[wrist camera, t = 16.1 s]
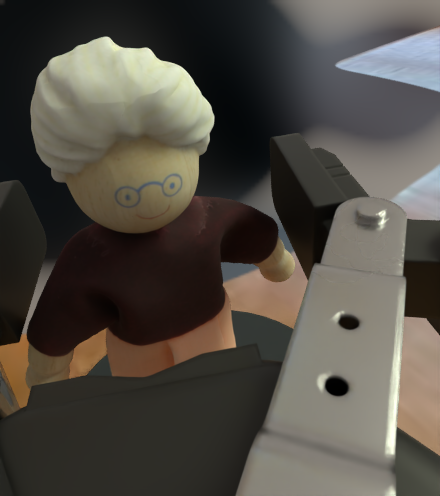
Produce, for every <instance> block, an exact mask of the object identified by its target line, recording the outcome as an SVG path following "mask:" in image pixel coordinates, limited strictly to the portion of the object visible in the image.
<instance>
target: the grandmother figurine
mask: <svg viewBox="0 0 440 496" xmlns="http://www.w3.org/2000/svg"><path fill="white" fill-rule="evenodd" d="M31 120H32V124H31V128H32V134H33V137H34V142H35V145H36V150H37V153H38V154H39V156H40V158H41V160H42V161H43V162H44V163H45V164H46V165H47V166H49V167H50V168H51V169H52V170H51V175H52V177H53V178H54V180H55V181H57V182H66V183H67V185H68V187H69V190H70V192H71V193H72V196H73V197H74V199H75V201H76V203H77V204H78V205H79V206H80V208H81V209H82V211H84V212H85V213H86V214H87V215H88V216H89V217H90V218H91V219H93V220H94V221H96V222H94V223H93V224H92V225H90V226H88V227H86V228H84V229H82V230H80V231H79V232H78V233H76V234H75V235H74V236H73V237H72V238H71V239H70V241H68V243H67V244H66V245H65V247H64V249H63V250H62V252H61V254H60V256H59V257H58V259H57V261H56V264H55V266H54V268H53V270H52V272H51V275H50V276H49V279H48V280H47V283H46V285H45V287H44V290H43V292H42V294H41V296H40V298H39V301H38V303H37V306H36V309H35V311H34V313H33V316H32V318H31V320H30V322H29V325H28V329H27V339H28V342H29V349H28V361H29V366H28V368H27V372H26V383H27V385H28V387H29V388H30V390H31V386H34V385H39V384H44V383H50V382H55V381H60V380H65V379H68V378H69V373H70V368H69V364H70V362H71V360H72V357H73V352H74V348H75V347H76V346H77V345H78V344H79V343H81V342H83V341H85V340H87V339H89V338H90V337H92V336H93V335H95V334H97V333H98V332H100V331H102V330H104V329H105V328H107V329H106V347H107V355H108V360H109V364H110V368H111V372H112V376H122V377H146V376H150V375H153V374H155V373H157V372H160V371H162V370H165V369H167V368H169V367H172V366H174V365H176V364H179V363H181V362H183V361H186V360H188V359H191V358H193V357H195V356H198V355H200V354H202V353H207V352H213V351H218V350H223V349H228V348H234V347H236V343H235V336H234V332H233V325H232V316H231V305H230V301H229V297H228V295H227V292H226V290H225V288H224V287H223V286H222V285H223V277H222V270H221V262H230V263H243V264H254V265H256V266H258V267H259V269H260V272H261V274H262V275H263V276H264V278H266V279H267V280H270V281H272V282H282V281H285V280H287V279H288V278H289V277H290V276H291V275H292V273H293V271H294V268H295V262H294V259H293V257H292V256H291V254H290V253H289V252H288V251H286V250H285V249H284V245H283V243H282V241H281V239H280V238H279V237H278V226H277V224H276V222H275V221H274V219H273V218H271V217H269V216H268V215H266V214H264V213H262V212H260V211H259V210H257V209H255V208H253V207H251V206H248V205H245V204H243V203H240V202H237V201H234V200H229V199H224V198H217V197H201V196H193V195H194V192H195V189H196V185H197V182H198V175H199V155H202V154H203V153H204V152H205V151H206V149H207V145H208V143H209V141H210V138H209V132H210V131H211V129H212V127H213V124H214V115H213V112H212V109H211V106H210V104H209V103H208V101H207V100H206V99H205V98H204V97H203V96H202V95H201V92H200V90H199V89H198V87H197V86H196V85H195V83H194V81H193V79H192V78H191V77H190V75H189V74H188V73H187V72H186V71H185V70H184V69H183V68H182V67H181V66H178V65H176V64H174V63H170V62H164V61H160V60H159V59H157V58H156V57H155V55H154V54H153V52H152V51H151V50H150V49H148V48H141V49H133V48H122V47H119V46H118V45H116V44H115V43H114V42H113V41H112V40H111V39H110V38H109V37H102V38H99V39H96V40H93V41H91V42H89V43H87V44H84V45H79V46H77V47H76V48H75V49H74V50H72V51H71V52H68V53H66V54H64V55H61V56H57V57H55V58H53V59H51V60H50V61H49V63H48V66H47V67H46V68H45V69H44V70H43V71H42V72H41V73H40V75H39V76H38V78H37V83H36V88H35V92H34V95H33V98H32V102H31Z"/></svg>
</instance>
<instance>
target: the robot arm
mask: <svg viewBox="0 0 440 496" xmlns="http://www.w3.org/2000/svg"><path fill="white" fill-rule="evenodd" d="M270 162H271V188H272V197H273V203H274V206H275V210H276V212H277V214H278V216H279V219H280V221H281V223H282V225H283V227H284V230H285V231H286V234H287V236H288V238H289V240H290V243H291V244H292V247H293V249H294V251H295V253H296V256H297V258H298V260H299V262H300V264H301V266H302V269H303V271H304V273H305V275H306V277H307V279H308V284H307V287H306V291H305V294H304V297H303V300H302V303H301V307H300V310H299V313H298V316H297V320H296V323H295V326H294V329H293V332H292V336H291V339H290V342H289V345H288V349H287V352H286V355H285V358H284V361H283V362H281V361H274V360H262V359H261V355H260V352H259V348H258V344H257V343H255V344H249V345H244V346H239V347H234V348H228V349H223V350H218V351H213V352H207V353H202V354H200V355H198V356H195V357H193V358H191V359H188V360H186V361H183V362H181V363H179V364H176V365H174V366H172V367H169V368H167V369H165V370H162V371H160V372H157V373H155V374H153V375H150V376H146V377H122V376H96V375H86V376H81V377H76V378H71V379H65V380H60V381H55V382H50V383H44V384H39V385H34V386H31V391H30V395H29V399H28V403H27V406H26V407H23V408H21V409H20V407H19V405H18V402H17V400H16V398H15V395H14V393H13V390H12V388H11V386H10V383H9V381H8V378H7V376H6V374H5V371H4V369H3V367H2V364H1V362H0V496H440V456H439V455H438V454H436V453H435V452H433V451H432V450H430V449H429V448H427V447H426V446H424V445H423V444H421V443H420V442H418V441H417V440H416V439H414V438H413V437H411V436H410V435H408V434H407V433H405V432H404V431H402V430H401V429H399V428H398V427H397V417H398V402H399V387H400V371H401V356H402V341H403V325H404V316H405V317H419V318H427V320H428V321H429V323H430V324H431V325H432V326H433V327H434V329H435V330H436V331H437V332H438V334H439V335H440V221H436V220H412V219H407V215H406V213H405V211H404V210H403V209H402V208H401V207H400V206H398V205H397V204H395V203H393V202H391V201H388V200H385V199H381V198H375V197H369V196H368V194H367V193H366V192H365V191H364V189H363V188H362V187H361V186H360V184H358V182H357V181H356V180H355V179H354V177H353V176H352V175H350V173H349V171H348V170H347V169H346V168H345V166H344V167H343V164H342V163H341V162H340V160H339V159H338V158H337V157H336V155H334V154H332V153H330V152H328V151H326V150H324V149H322V148H315V149H310V147H309V146H308V144H307V143H306V142H305V140H304V139H303V138H302V136H301V135H300V134H299V133H296V134H289V135H284V136H278V137H272V138H271V139H270ZM46 249H47V243H46V236H45V232H44V229H43V227H42V225H41V223H40V220H39V218H38V216H37V214H36V212H35V210H34V208H33V206H32V203H31V201H30V199H29V197H28V195H27V193H26V190H25V188H24V187H23V185H22V184H21V183H20V182H19V181H18V180H14V181H8V182H2V183H0V346H2V345H7V344H12V343H18V342H19V341H20V338H21V334H22V330H23V328H24V324H25V321H26V317H27V314H28V311H29V307H30V304H31V300H32V297H33V294H34V290H35V287H36V284H37V280H38V277H39V274H40V270H41V267H42V263H43V260H44V256H45V253H46Z"/></svg>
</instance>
